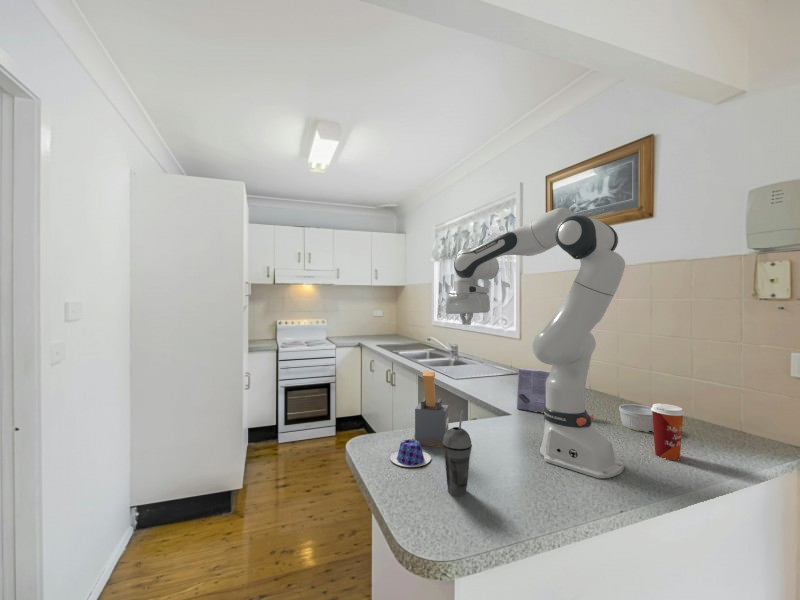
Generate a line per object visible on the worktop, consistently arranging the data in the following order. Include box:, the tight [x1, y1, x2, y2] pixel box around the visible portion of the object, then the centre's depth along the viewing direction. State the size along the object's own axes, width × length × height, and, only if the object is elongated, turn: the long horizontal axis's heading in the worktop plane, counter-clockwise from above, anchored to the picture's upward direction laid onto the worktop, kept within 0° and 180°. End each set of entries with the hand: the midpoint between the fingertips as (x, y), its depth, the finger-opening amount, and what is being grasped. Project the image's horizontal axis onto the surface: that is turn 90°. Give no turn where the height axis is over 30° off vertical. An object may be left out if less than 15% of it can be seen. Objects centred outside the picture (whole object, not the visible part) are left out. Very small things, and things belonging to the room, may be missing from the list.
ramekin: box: [618, 403, 653, 432], centre depth 134 cm, size 13×13×7 cm
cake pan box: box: [516, 367, 551, 414], centre depth 153 cm, size 19×5×18 cm, turn 58°
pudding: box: [390, 438, 432, 468], centre depth 107 cm, size 12×12×5 cm
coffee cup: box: [651, 403, 685, 461], centre depth 109 cm, size 8×8×15 cm
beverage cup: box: [442, 409, 473, 497], centre depth 89 cm, size 7×7×20 cm
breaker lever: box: [421, 370, 437, 408], centre depth 117 cm, size 2×4×13 cm, turn 74°
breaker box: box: [411, 397, 450, 448], centre depth 121 cm, size 8×12×14 cm, turn 74°
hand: (466, 324), depth 142 cm, fingers closed
